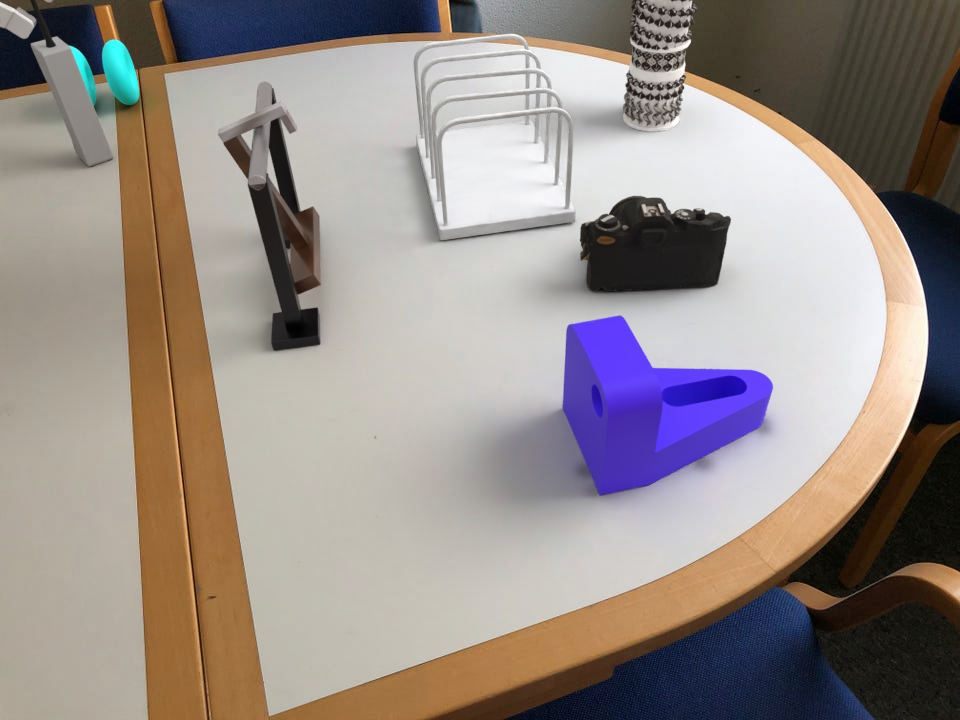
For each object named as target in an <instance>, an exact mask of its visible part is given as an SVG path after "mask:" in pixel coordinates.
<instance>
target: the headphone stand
mask: <svg viewBox="0 0 960 720" xmlns="http://www.w3.org/2000/svg"><path fill="white" fill-rule="evenodd" d="M279 117H280V120H281V123H282V125H284V127H285V129H286V131H287V132H288V134H289V135H291V134H293V133H295V132H297V131H298V130H297V129H298V126H297V124H296V121H294V119H293V117H292V116H291V114H290V112H289V110H288V109H287V107H286V105H285V104H284V102H283V100H280V101H277V103H275V104H273V105H271V106H269V107H267V108H264V109H262V110H260V111H258V112H256V113H255V112H254V113H251V114H249V115H247V116H244V117H242V118H240V119H238V120H236V121H233V122H232V123H229V124H227V125H225V126H222V127H220V128H218V131H217V136H218V137H219V139H220V140H221V142H222V144H223V146H224V147H225V149H226V150H227V152H228V153H229V154H230V157H232V159H233V160H234V162H235V163H236V165H237V166H238V168H239V169H240V171H241V173H243V175H244V177H245V178H246V180H248V176H249V169H250V159H251V149H252V148H250V146H249V145H248V143H247V142H246V140H245V139H244V137H243V136H242V135H244V134H245V133H247V132H250V131H253V130H254V128H257V127H259V126H261V125H263V124H265V123H268V122H270V121H272V120H274V119H277V118H279ZM269 180H270V185H271V189H272V193H273V197H274V201H275V205H276V209H277V213H278V217H279V221H280V225H281V229H282V231H283V232H284V234H285V235H286V236H287V238H288V239H289V241H290V242H291V247H290V248H289V249H290V251H289V252H290V253H289V262H290V266H291V270H292V274H293V278H294V282H295V286H296V290H297V294H298V295H301V294H303V293H306V292H308V291H311V290H312V289H315V288H318V287H320V286H321V285H322V277H321V276H322V272H321V271H322V270H321V269H322V268H321V265H322V264H321V227H320V226H321V224H320V214H319V213H318V211H317V209H316V207H314V206H310V207H308V208H305V209H303V210H301V212H298V213H296V214H294V215H293V213H292V212H291V210H290V209H289V207H288V206H287V204H286V203H285V201H284V200H283V198H282V197H281V195H280V192H279V189H277V187H276V186H275V184H274V183H273V182H272V179H271V178H270V177H269Z"/></svg>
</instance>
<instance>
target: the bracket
mask: <svg viewBox="0 0 960 720" xmlns="http://www.w3.org/2000/svg"><path fill="white" fill-rule="evenodd" d="M564 351H565V353H564V371H563V372H564V373H563V389H562V390H563V394H562V411H563V412H564V415H565V417H566V419H567V421H568V424H569V426H570V429H571V431H572V433H573V436H574V439H575V441H576V443H577V445H578V447H579V451H580V453H581V455H582V457H583V460H584V461H585V464H586V466H587V469H588V472H589V473H590V476H591V478H592V481H593V483H594V486H595V488H596V491H597V492H598V495H599V496H603V495H608V494H613V493H618V492H622V491H627V490H632V489H636V488H642V487H646V486H650V485H652V484H654V483H656V482H658V481H660V480H662V479H664V478H665V477H667V476H670V475H672V474H674V473H675V472H677V471H679V470H680V469H683V468H684V467H686V466H689V465H690V464H692V463H694V462H696V461H698V460H700V459H702V458H704V457H706V456H708V455H709V454H711V453H713V452H716V451H717V450H719V449H721V448H723V447H726V446H727V445H729V444H730V443H732V442H735V441H736V440H738V439H740V438H742V437H744V436H746V435H748V434H750V433H751V432H754V431H755V430H758V429H759V428H760V427H761V426H762V425H763V423H764V420H765V417H766V413H767V411H768V407H769V403H770V400H771V397H772V393H773V390H774V385H773V381H772V380H771V378H769V376H768V375H766V374H764V373H762V372H761V371H758V370H754V369H736V368H735V369H732V368H729V369H728V368H727V369H726V368H686V367H685V368H682V367H681V368H679V367H677V368H676V367H673V368H672V367H653V366H652V364H651V361H649V359H648V356H647V355H646V353H645V352H644V350H643V348H642V347H641V345H640V343H639V341H638V339H637V338H636V335H635V334H634V332H633V331H632V329H631V327H630V325H629V324H628V322H627V320H626V319H625V317H624V316H623V315H614V316H608V317H602V318H597V319H591V320H586V321H581V322H580V321H579V322H575V323H570V324H568V325H567V326H566V332H565V349H564Z"/></svg>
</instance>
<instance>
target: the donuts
mask: <svg viewBox="0 0 960 720" xmlns="http://www.w3.org/2000/svg"><path fill="white" fill-rule="evenodd" d="M68 46H69V47H70V48H71V50H72V52H73V55H74V57H75V60H76V62H77V65H78V68H79V70H80V73H81V75H82V78H83V81H84V83H85V86H86V88H87V91H88V93H89V96H90V99H91V101H92V104H93V106H94V107H95V105H96V103H97V97H98V96H97V93H98V92H97V87H96V82H95V78H94V74H93V72H92V69H91V66H90V64H89V62H88V60H87V58H86V56H85V55H84V54H83V53H82V51H80V50H79V49H78V48H76V47H75V46H72V45H68ZM101 59H102V67H103V72H104V75H105V79H106V82H107V84H108V86H109V89H110V91H111V93H112V94H113V96H114V98H116V99H117V101H118V102H120V103H122V104H124V105H127V106H133V105H135V104H136V103H137V102H138V101H139V99H140V87H139V81H138V77H137V72H136V69H135V65H134V63H133V59H132V57H131V55H130V52H129V50H128V48H127V47H126V45H125V44H124V43H123V42H121V40H118V39H110V40H108V41H106V42H105V44H104V45H103V47H102V52H101Z"/></svg>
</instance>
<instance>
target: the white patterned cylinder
mask: <svg viewBox="0 0 960 720" xmlns="http://www.w3.org/2000/svg"><path fill="white" fill-rule="evenodd" d="M630 9H631V13H632V15H631V17H630V18H631V19H630V21H629V22H630V25H631V26H630V29H629V32H628V33H629V35H630V37H629V41H630V44H631V46H632V49H631V50H632V51H631V58H630V59H629V67H628V70H627V72H626V74H625V76H626V80H627V81H626V83H625V84H624V86H625V90H626V92H625V94H623V99H624V103H623V106H622V108H623V114H622V120H623V123H625V124H626V125H627V126H628V127H630V128H632V129H635V130H638V131H643V132H650V133H651V132H652V133H654V132H655V133H656V132H657V133H659V132H664V131H669V130H671V129H673V128H675V127H677V125H678V124H679V122H680V115H681V113H680V112H681V111H682V107H681V106H682V102H683V101H684V98H683V96H682V94H683V93H684V90H685V85H684V83H685V80H686V78H687V75H686V74H685V71H686V70H685V69H686V54H687V48H688V47H689V46H690V45H691V42H692V40H691V39H692V37H693V32H692V31H691V30H690V29H689V28H690V27H692V26H694V25H695V23H696V21H697V20H696V18H695V17H694V16H693V15H694V14H696V13H697V11H698V6H697V5H696V4H694V2H693V0H632V2H631V3H630Z"/></svg>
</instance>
